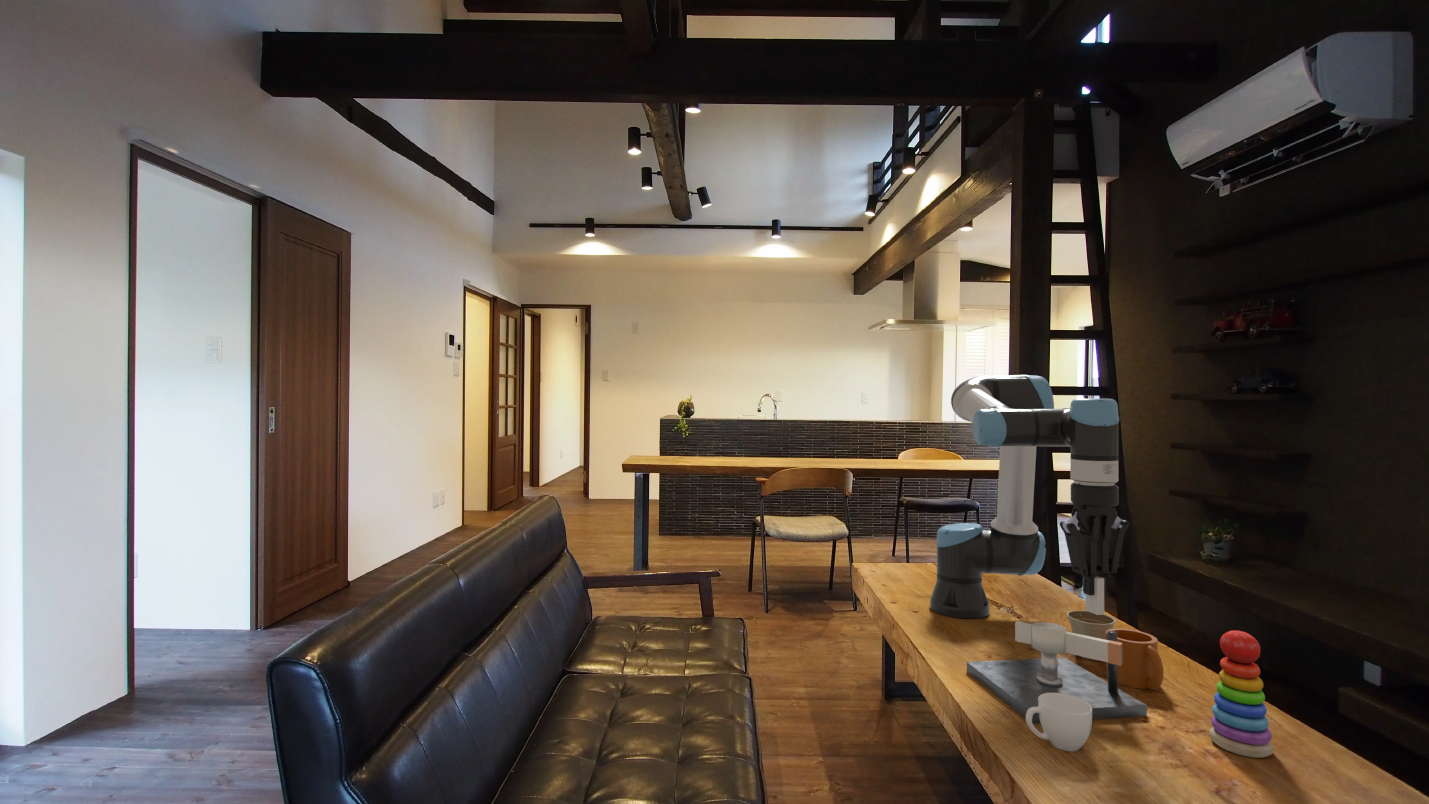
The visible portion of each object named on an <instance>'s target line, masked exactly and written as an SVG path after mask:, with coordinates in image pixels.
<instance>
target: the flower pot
mask: <svg viewBox="0 0 1429 804" xmlns="http://www.w3.org/2000/svg"><path fill="white" fill-rule="evenodd" d="M1066 617H1068V622H1069V624H1070V629H1071V633H1076V634H1081V635H1086V636H1090V637H1095V638H1100V639H1104V640H1106V631H1107V630H1109V629H1114V625H1115V624H1116V623H1117V622H1116V621H1117V620H1116V618H1114V617H1112V616H1111V615H1108V614H1105V613H1104V614H1103V615H1096V614H1094V613H1091V612H1089V611H1086V610H1082V609H1081V610H1080V609H1079V610H1069V611H1067V612H1066ZM1080 657H1081V658H1083V659H1086V660H1091V661H1096V662H1097V661H1099V660H1095V659H1091V658H1087V657H1082V656H1080Z"/></svg>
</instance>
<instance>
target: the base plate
mask: <svg viewBox="0 0 1429 804" xmlns="http://www.w3.org/2000/svg"><path fill="white" fill-rule="evenodd" d="M1107 640H1111V641H1116V642H1117V632H1114V631H1107ZM1040 654H1041V656H1040V657H1039V658H1024V659H1023V658H1022V659H1020V658H1019V659H1004V660H1003V659H1002V660H1001V659H1000V660H978V661H966V672H967V673H968V675H970V676H972V677H973V678H974V679H976V680H977V681H978V682H979V683H980V684H981V685H983V686H984V687H985V688H986V689H988V690H989V691H991V692H992V693H993V694H995V696H997V697H998V698H999V699H1000V700H1002V701H1003V702H1004V703H1005V704H1007V705H1008V706H1009V707H1010V708H1012V709H1013V710H1014V711H1016V713H1018V714H1019V715H1020V716H1021V717H1023V718H1024V719H1026V713H1027V710H1028V709H1029V708H1031V707H1038V697H1039V696H1040V695H1041V694H1044V693H1062V694H1067V695H1071V696H1074V697H1077V698H1080V699H1082V700H1084V701H1085V702H1087V703H1088V704H1089V705H1090V706H1091V707H1092V721H1094V720H1105V719H1107V720H1108V719H1125V718H1126V719H1127V718H1140V717H1141V718H1142V717H1143V718H1145V717H1147V716H1148V711H1147V708H1148V705H1147V704H1146V703H1144V702H1142V701H1141V700H1138V699H1137V698H1135V697H1134V696H1132V695H1130V694H1128V693H1127V692H1125V691H1123V690H1122V689H1120V688H1119V683H1118V665H1115V664H1111V663H1108V677H1107V681H1106V680H1105V679H1102V678H1101V677H1099V676H1097V675H1096V674H1094V673H1092V672H1091V671H1089V670H1087V669H1085V668H1083V667H1082V666H1081V665H1078V664H1076V663H1075V662H1073V661H1071V660H1069V658H1067V657H1061V656H1060V657H1058V654H1051V653H1045V652H1042V651H1040ZM1032 723H1033V724H1038V723H1039V724H1041V723H1040V719H1039V713H1034V714H1033V717H1032Z"/></svg>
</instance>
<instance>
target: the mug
mask: <svg viewBox="0 0 1429 804" xmlns="http://www.w3.org/2000/svg"><path fill="white" fill-rule="evenodd" d="M1107 631H1114V632H1117V642H1120V643H1122V648H1123V664H1122V665H1121V666H1119V665H1118V685H1121V686H1126V687H1129V688H1134V689H1141V690H1150V691H1157V690H1158V689H1159V688H1160V687H1161V686H1162V684H1163V682H1164V677H1165V676H1164V675H1165V674H1164V671H1165V670H1164V666H1163V665H1164V664H1163V661H1162V658H1161V656H1160V654H1159V652H1158V651H1159V650H1158V644H1159V643H1158V638H1157V637H1155V636H1154V635H1152V634H1150V633H1147V632H1144V631H1140V630H1136V629H1129V628H1113V629H1109V630H1107ZM1107 631H1106V640H1107ZM1105 663H1106V669H1105V670H1106V677H1107V678H1108V662H1105Z"/></svg>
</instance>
